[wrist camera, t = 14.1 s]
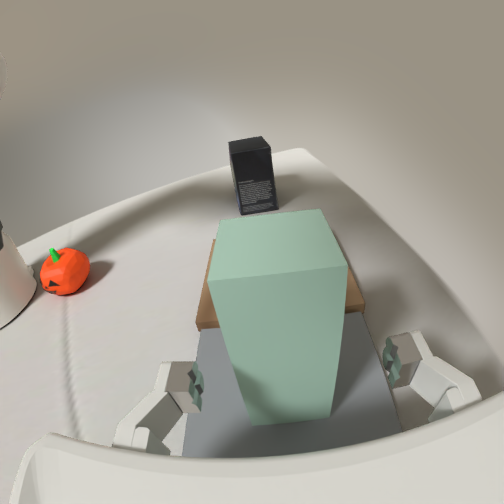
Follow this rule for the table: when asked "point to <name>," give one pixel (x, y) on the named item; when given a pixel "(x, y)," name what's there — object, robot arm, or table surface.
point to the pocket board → (209, 317)
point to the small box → (253, 175)
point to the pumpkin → (64, 271)
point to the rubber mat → (296, 433)
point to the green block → (281, 311)
